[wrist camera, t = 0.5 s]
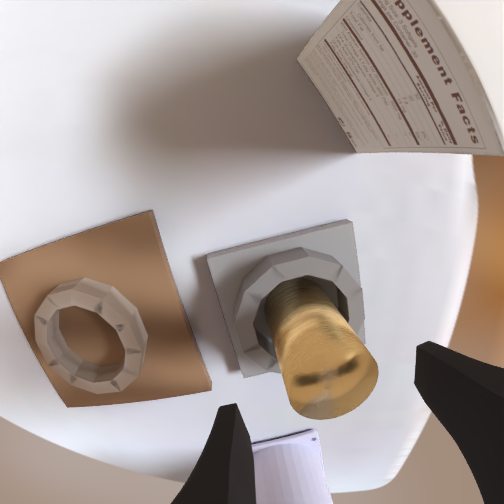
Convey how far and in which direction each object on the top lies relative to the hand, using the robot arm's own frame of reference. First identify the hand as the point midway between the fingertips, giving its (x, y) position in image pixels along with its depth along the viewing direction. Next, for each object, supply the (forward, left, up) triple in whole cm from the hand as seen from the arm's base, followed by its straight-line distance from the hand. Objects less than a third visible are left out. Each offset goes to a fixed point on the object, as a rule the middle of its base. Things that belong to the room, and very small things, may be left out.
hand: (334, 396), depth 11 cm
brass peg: (-1, 0, -9) cm, 9 cm away
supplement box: (+12, -8, -11) cm, 18 cm away
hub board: (+1, +13, -10) cm, 17 cm away
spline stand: (-1, 0, -10) cm, 10 cm away
